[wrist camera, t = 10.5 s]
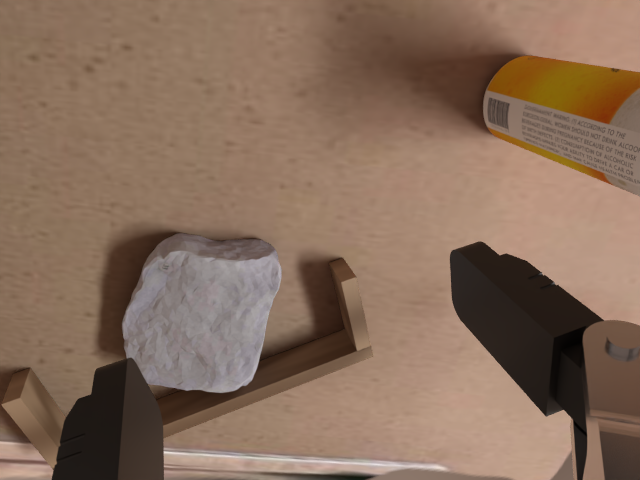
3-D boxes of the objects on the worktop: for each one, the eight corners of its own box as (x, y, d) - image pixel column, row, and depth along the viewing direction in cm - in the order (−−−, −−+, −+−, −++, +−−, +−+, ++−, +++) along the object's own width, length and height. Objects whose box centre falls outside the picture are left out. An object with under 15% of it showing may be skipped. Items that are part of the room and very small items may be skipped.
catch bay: (12, 373, 34) (1, 404, 31) (342, 258, 38) (356, 276, 35) (66, 446, 38) (60, 478, 35) (360, 334, 42) (373, 356, 39)
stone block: (127, 349, 38) (252, 368, 40) (109, 389, 34) (250, 408, 36) (147, 210, 34) (284, 238, 36) (130, 234, 30) (287, 265, 32)
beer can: (549, 120, 38) (749, 183, 25) (481, 149, 37) (651, 229, 24) (545, 42, 35) (770, 67, 22) (471, 72, 34) (659, 116, 21)
